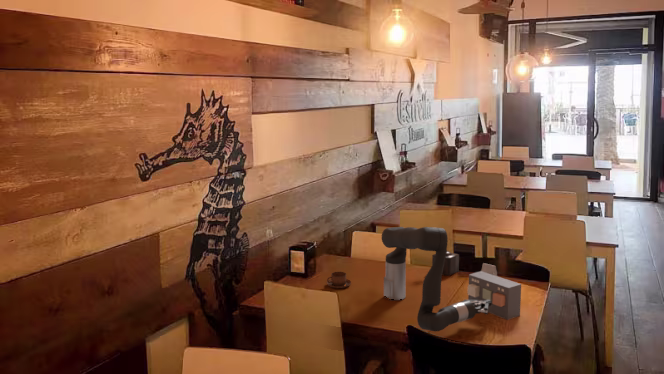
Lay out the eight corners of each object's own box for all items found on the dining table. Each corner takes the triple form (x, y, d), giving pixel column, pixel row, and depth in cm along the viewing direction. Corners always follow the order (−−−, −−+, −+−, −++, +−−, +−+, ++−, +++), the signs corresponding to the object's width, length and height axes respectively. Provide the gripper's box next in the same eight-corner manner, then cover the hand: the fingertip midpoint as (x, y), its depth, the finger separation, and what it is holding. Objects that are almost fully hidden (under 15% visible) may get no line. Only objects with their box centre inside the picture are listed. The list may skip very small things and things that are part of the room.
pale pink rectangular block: (492, 286, 291) (493, 266, 289) (480, 283, 296) (481, 264, 294) (496, 284, 294) (497, 265, 292) (484, 281, 298) (484, 262, 296)
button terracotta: (492, 303, 253) (492, 293, 252) (499, 301, 255) (499, 291, 255) (500, 306, 249) (501, 296, 248) (507, 304, 252) (508, 294, 251)
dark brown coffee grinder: (441, 267, 322) (441, 234, 319) (459, 271, 315) (460, 238, 312) (424, 274, 311) (425, 240, 308) (443, 278, 304) (443, 244, 301)
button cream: (467, 294, 264) (467, 284, 263) (474, 292, 267) (474, 282, 266) (475, 297, 261) (475, 287, 260) (482, 295, 263) (482, 285, 262)
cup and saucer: (337, 291, 287) (337, 279, 286) (321, 285, 296) (321, 273, 295) (356, 286, 295) (355, 274, 294) (339, 280, 304) (339, 268, 303)
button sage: (482, 298, 260) (482, 288, 259) (489, 295, 262) (489, 286, 261) (490, 301, 256) (490, 291, 255) (497, 298, 258) (497, 289, 258)
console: (467, 304, 268) (468, 274, 265) (480, 300, 273) (481, 271, 270) (507, 320, 250) (508, 288, 248) (520, 315, 255) (521, 284, 252)
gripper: (473, 307, 233) (503, 298, 242) (449, 297, 244) (478, 289, 253) (473, 325, 234) (502, 315, 244) (448, 315, 245) (477, 306, 254)
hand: (490, 302), depth 248 cm, fingers closed
